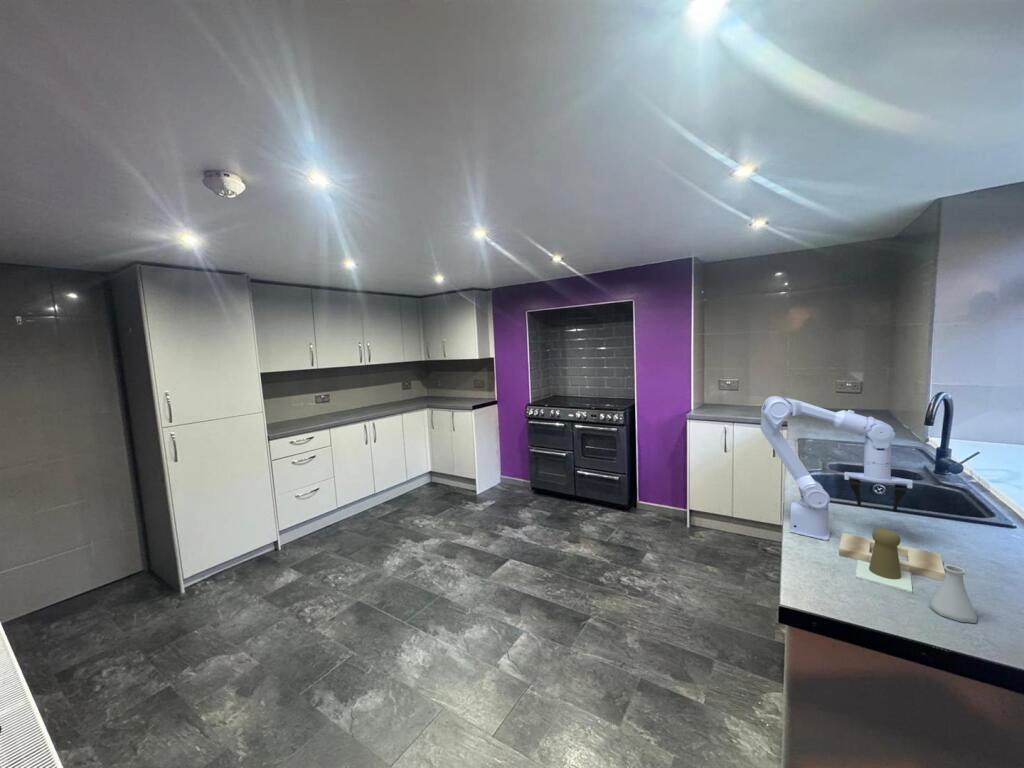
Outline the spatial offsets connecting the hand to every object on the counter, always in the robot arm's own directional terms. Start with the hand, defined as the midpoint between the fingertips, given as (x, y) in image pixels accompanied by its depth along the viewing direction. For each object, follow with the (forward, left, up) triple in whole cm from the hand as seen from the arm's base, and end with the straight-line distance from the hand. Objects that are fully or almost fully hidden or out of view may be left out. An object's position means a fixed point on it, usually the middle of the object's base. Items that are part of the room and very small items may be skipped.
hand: (876, 507), depth 116 cm
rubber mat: (+2, -22, -10) cm, 24 cm away
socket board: (+3, -10, -10) cm, 15 cm away
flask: (+13, -31, -11) cm, 35 cm away
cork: (+2, -21, -10) cm, 23 cm away
